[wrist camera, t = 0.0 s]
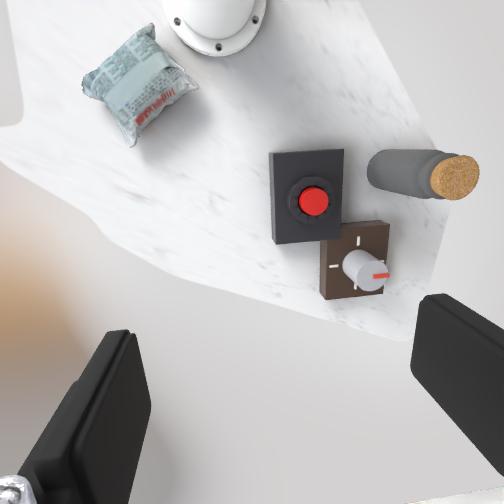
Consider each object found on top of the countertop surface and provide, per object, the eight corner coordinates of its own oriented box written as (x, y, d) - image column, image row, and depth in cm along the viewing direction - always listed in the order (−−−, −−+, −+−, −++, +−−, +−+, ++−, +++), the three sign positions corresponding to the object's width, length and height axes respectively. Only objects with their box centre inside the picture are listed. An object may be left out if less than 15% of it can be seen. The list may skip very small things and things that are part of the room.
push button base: (268, 153, 43) (275, 153, 38) (335, 148, 44) (349, 148, 39) (272, 238, 47) (278, 248, 42) (332, 233, 48) (345, 242, 43)
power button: (298, 188, 40) (302, 189, 39) (324, 186, 41) (328, 187, 39) (299, 214, 42) (302, 216, 40) (323, 211, 42) (328, 214, 40)
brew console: (320, 225, 47) (327, 230, 44) (379, 220, 48) (390, 224, 45) (319, 292, 51) (325, 300, 48) (374, 286, 52) (383, 294, 49)
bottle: (364, 189, 46) (429, 206, 32) (368, 150, 44) (439, 150, 30) (399, 188, 47) (478, 204, 33) (404, 149, 45) (491, 148, 31)
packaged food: (200, 92, 39) (198, 83, 35) (134, 148, 41) (123, 147, 36) (154, 28, 37) (145, 10, 32) (85, 91, 38) (66, 82, 33)
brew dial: (341, 278, 48) (356, 293, 43) (343, 250, 46) (358, 263, 41) (370, 275, 48) (387, 290, 43) (372, 248, 46) (391, 259, 41)
